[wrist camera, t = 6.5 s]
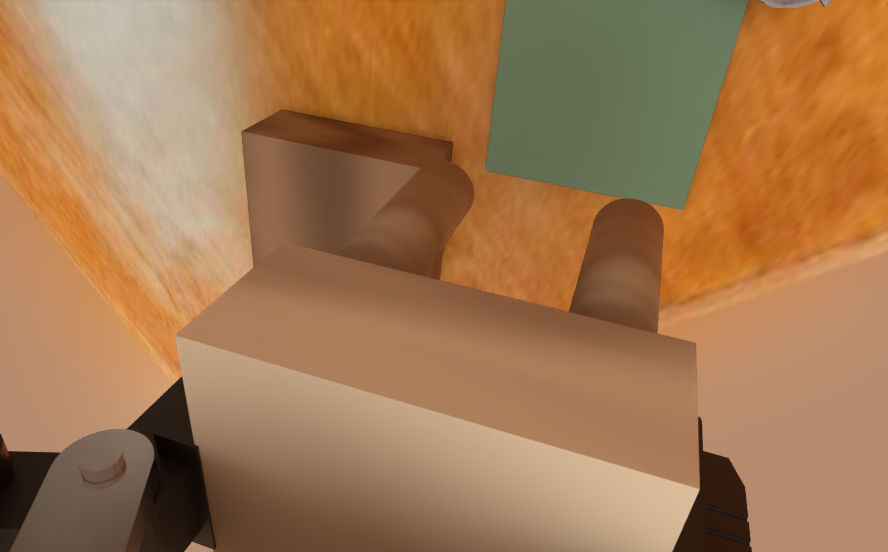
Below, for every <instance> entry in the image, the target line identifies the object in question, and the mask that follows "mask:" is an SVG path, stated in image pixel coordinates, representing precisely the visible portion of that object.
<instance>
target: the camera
mask: <svg viewBox="0 0 888 552" xmlns="http://www.w3.org/2000/svg"><path fill="white" fill-rule="evenodd" d="M759 1H761V2H762V3H765V4H767V5H769V6H770V7H775V8H798V7H802V6H805V5H809V4H812V3H816V2H818V1H819V0H759ZM820 2H821V3H822V5H823V6H824V7H825V6H827V5H829V4H831V1H830V0H820Z"/></svg>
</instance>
